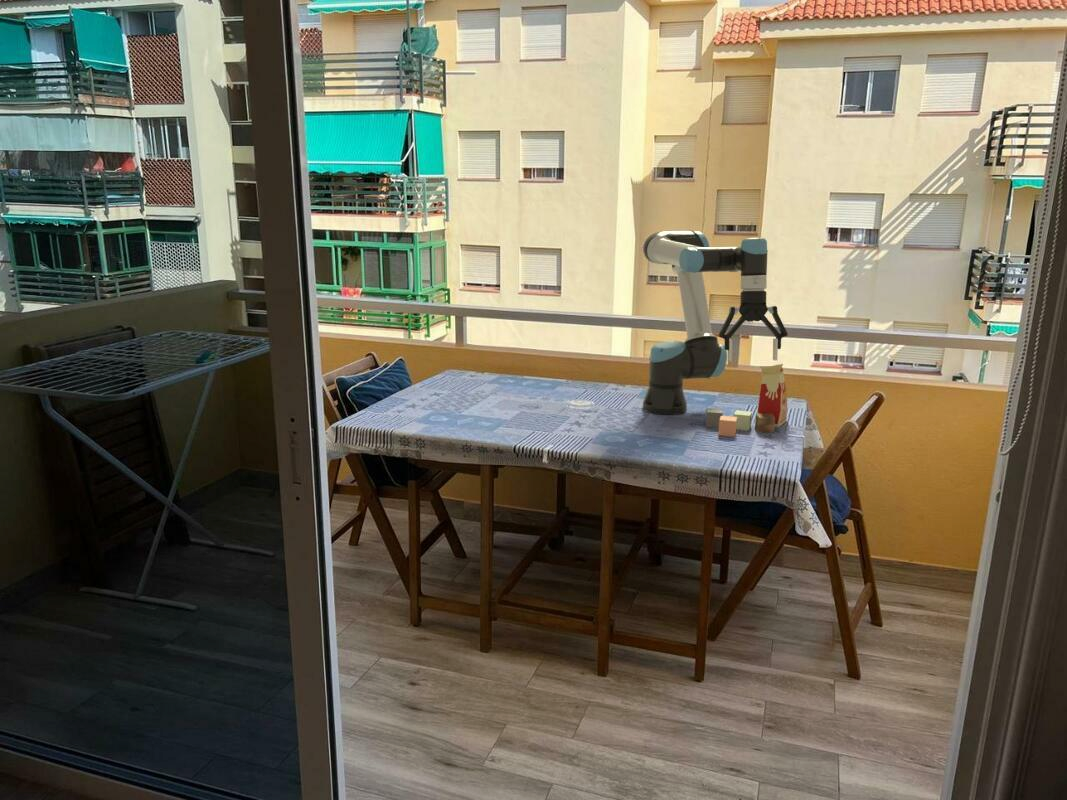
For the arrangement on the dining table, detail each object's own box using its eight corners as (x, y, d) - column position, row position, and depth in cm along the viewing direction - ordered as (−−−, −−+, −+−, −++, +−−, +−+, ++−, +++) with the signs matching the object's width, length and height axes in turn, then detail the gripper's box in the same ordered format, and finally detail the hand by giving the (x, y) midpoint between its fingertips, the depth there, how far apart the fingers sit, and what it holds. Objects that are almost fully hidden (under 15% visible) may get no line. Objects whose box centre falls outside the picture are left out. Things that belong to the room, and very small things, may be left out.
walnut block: (757, 432, 245) (758, 417, 244) (754, 428, 250) (756, 413, 249) (773, 433, 245) (775, 418, 244) (770, 428, 250) (772, 413, 248)
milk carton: (786, 420, 259) (792, 361, 253) (779, 427, 251) (785, 367, 246) (759, 416, 263) (764, 358, 258) (751, 423, 255) (756, 363, 250)
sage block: (732, 429, 249) (733, 414, 248) (735, 424, 254) (736, 410, 252) (748, 430, 247) (749, 415, 246) (750, 426, 252) (752, 411, 250)
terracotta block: (718, 435, 243) (719, 419, 241) (719, 430, 247) (720, 415, 246) (734, 436, 241) (736, 421, 240) (735, 432, 246) (737, 417, 245)
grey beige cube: (705, 427, 251) (706, 412, 250) (705, 422, 256) (706, 408, 255) (721, 427, 250) (722, 412, 249) (720, 423, 255) (721, 408, 254)
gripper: (713, 291, 231) (713, 362, 234) (799, 289, 230) (797, 360, 233) (709, 291, 239) (709, 360, 242) (792, 289, 237) (790, 358, 240)
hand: (752, 360), depth 237 cm, fingers open, 13 cm apart
